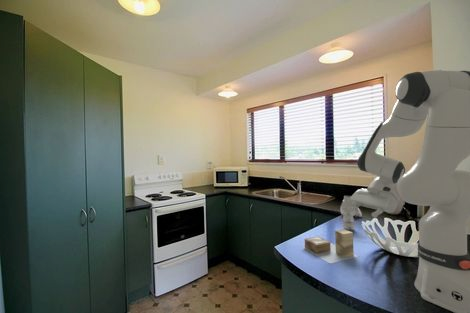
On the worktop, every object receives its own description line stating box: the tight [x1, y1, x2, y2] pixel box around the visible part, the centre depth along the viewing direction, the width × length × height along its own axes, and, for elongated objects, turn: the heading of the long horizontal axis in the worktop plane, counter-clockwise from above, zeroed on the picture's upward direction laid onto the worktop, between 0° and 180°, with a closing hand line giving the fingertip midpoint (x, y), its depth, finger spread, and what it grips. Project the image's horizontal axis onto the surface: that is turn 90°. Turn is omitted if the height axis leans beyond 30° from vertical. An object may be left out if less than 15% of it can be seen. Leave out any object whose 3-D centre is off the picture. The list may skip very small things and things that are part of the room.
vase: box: [386, 183, 405, 215], centre depth 162 cm, size 14×14×30 cm
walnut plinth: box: [304, 236, 331, 254], centre depth 101 cm, size 8×8×4 cm
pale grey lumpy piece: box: [339, 199, 363, 218], centre depth 157 cm, size 12×11×12 cm
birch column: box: [334, 228, 355, 258], centre depth 95 cm, size 5×5×10 cm
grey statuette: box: [341, 195, 356, 231], centre depth 129 cm, size 6×7×20 cm
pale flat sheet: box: [302, 242, 360, 264], centre depth 98 cm, size 18×16×1 cm
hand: (363, 213), depth 100 cm, fingers open, 8 cm apart
